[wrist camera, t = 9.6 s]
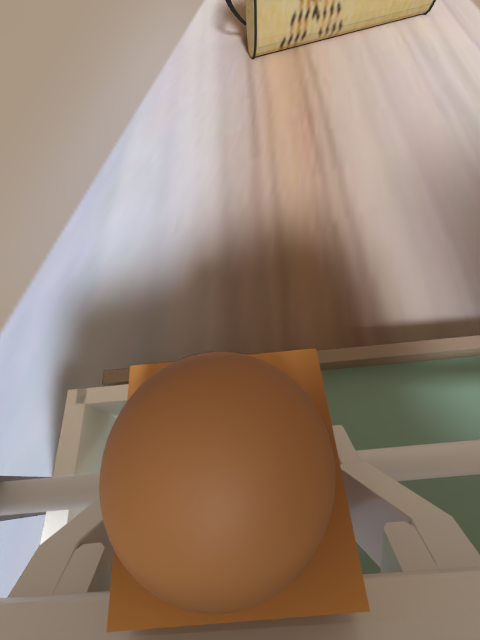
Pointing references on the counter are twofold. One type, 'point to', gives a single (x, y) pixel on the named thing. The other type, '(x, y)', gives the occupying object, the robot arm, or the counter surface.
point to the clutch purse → (317, 19)
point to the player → (227, 495)
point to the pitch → (345, 409)
